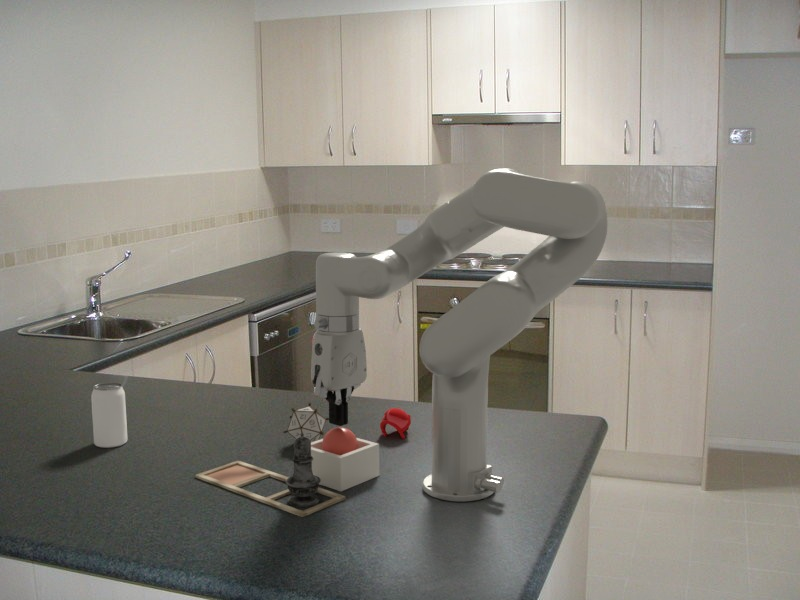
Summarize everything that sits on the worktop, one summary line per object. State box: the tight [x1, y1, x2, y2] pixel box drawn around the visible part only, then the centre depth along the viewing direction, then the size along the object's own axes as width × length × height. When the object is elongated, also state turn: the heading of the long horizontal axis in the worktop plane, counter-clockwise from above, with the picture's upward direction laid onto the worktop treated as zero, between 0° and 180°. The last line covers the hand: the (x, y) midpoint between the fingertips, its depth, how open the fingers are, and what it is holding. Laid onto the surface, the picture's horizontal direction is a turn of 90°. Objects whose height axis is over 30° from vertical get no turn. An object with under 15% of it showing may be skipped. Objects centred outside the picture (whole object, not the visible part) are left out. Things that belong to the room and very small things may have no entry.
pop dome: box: [322, 426, 358, 456], centre depth 160 cm, size 6×6×6 cm
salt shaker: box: [285, 432, 321, 508], centre depth 149 cm, size 6×6×12 cm
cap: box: [379, 407, 412, 440], centre depth 184 cm, size 8×6×6 cm
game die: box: [282, 402, 329, 442], centre depth 179 cm, size 9×8×10 cm
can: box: [90, 382, 128, 449], centre depth 179 cm, size 6×6×12 cm
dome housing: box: [311, 437, 380, 492], centre depth 160 cm, size 10×10×6 cm
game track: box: [194, 460, 347, 518], centre depth 156 cm, size 28×10×1 cm, turn 50°
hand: (338, 423), depth 159 cm, fingers closed
